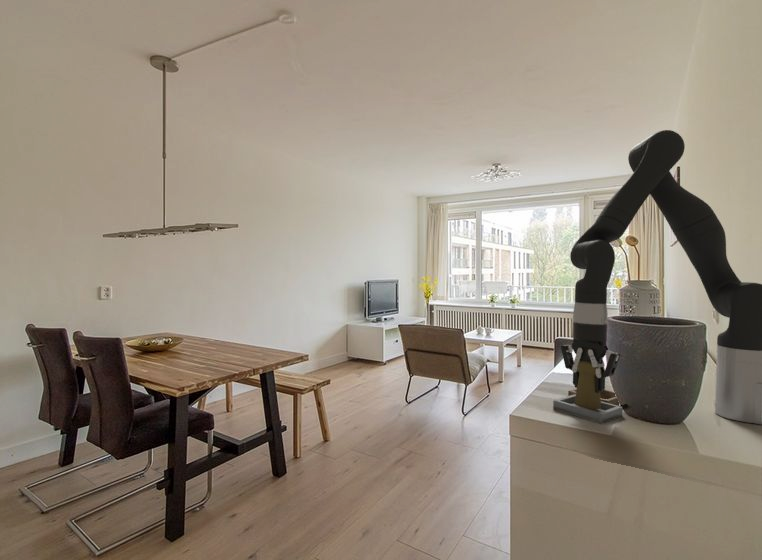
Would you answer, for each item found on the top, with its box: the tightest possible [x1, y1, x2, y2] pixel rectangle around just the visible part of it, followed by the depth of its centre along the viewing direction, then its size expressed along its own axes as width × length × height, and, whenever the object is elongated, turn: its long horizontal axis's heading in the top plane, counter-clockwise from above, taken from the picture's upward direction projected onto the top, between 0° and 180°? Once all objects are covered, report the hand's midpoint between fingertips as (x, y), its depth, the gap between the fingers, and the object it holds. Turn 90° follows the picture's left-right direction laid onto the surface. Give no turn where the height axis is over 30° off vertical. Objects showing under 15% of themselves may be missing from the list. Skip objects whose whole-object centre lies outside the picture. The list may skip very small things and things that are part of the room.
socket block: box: [567, 388, 619, 406], centre depth 107 cm, size 10×10×2 cm
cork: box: [574, 361, 601, 409], centre depth 98 cm, size 6×6×11 cm
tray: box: [553, 394, 623, 425], centre depth 99 cm, size 12×10×2 cm
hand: (588, 389), depth 98 cm, fingers closed on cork, 4 cm apart
